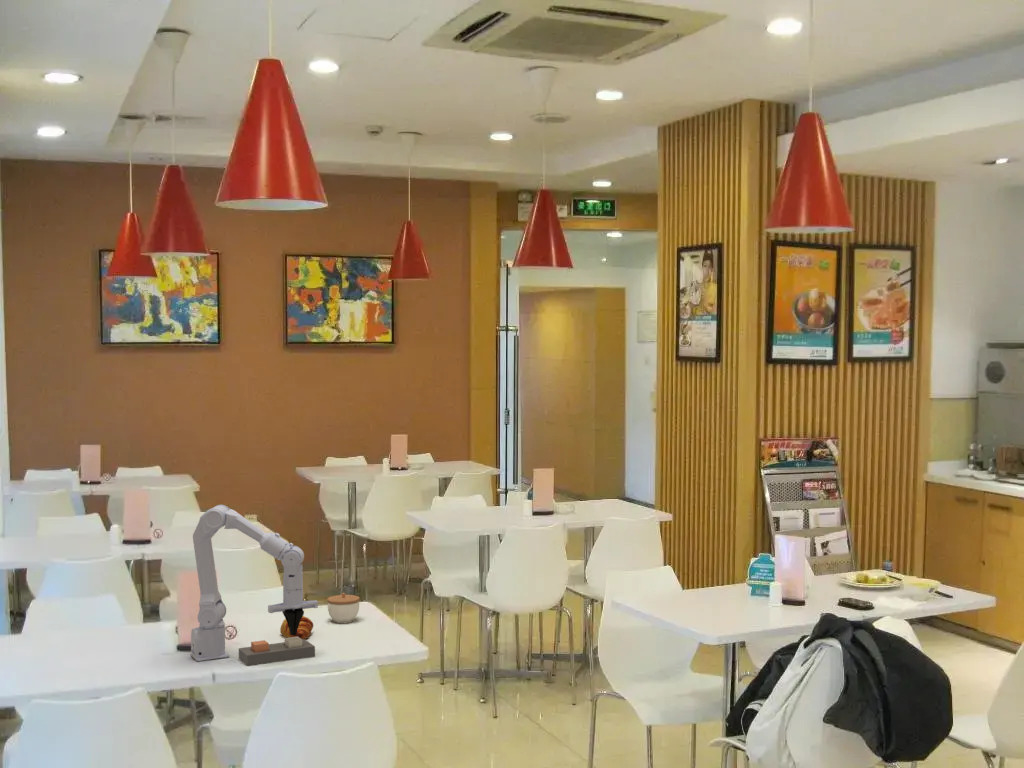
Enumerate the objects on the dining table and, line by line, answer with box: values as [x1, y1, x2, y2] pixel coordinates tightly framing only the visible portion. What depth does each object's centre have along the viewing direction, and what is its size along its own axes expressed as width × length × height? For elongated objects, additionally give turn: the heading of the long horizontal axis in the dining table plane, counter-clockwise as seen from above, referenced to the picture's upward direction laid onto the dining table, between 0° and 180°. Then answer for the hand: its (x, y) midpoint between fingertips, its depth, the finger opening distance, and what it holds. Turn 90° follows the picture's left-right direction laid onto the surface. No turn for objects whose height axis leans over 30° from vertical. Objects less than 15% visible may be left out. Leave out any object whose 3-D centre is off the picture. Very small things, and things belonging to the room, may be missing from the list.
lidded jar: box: [326, 592, 360, 624], centre depth 358 cm, size 11×11×9 cm
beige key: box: [284, 637, 303, 648], centre depth 315 cm, size 4×4×3 cm
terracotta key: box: [250, 639, 270, 653], centre depth 310 cm, size 4×4×3 cm
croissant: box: [279, 615, 314, 640], centre depth 340 cm, size 21×10×8 cm, turn 20°
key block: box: [238, 639, 316, 667], centre depth 313 cm, size 20×9×3 cm, turn 120°
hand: (293, 634), depth 315 cm, fingers closed
